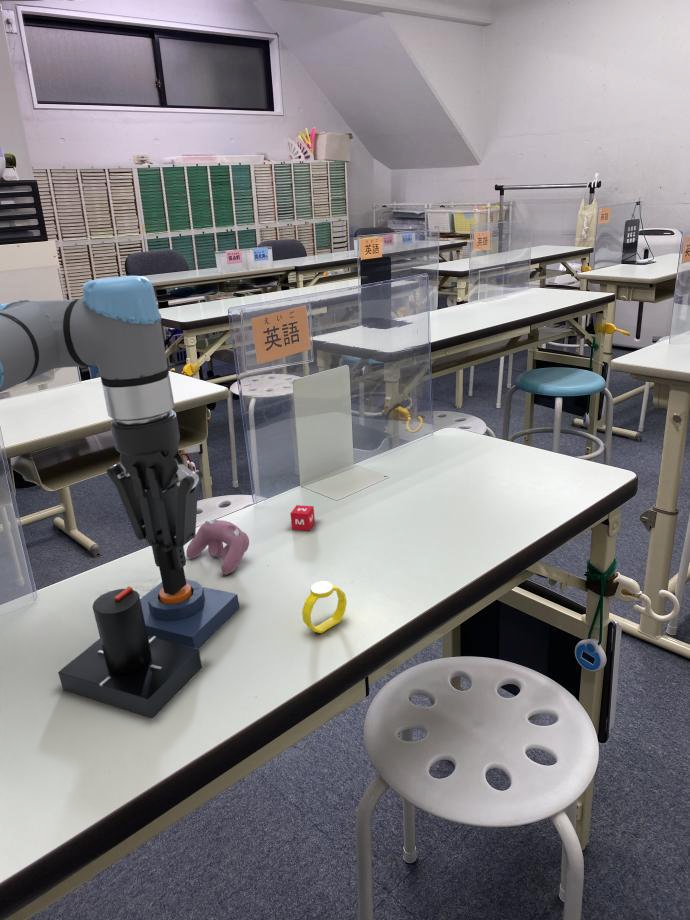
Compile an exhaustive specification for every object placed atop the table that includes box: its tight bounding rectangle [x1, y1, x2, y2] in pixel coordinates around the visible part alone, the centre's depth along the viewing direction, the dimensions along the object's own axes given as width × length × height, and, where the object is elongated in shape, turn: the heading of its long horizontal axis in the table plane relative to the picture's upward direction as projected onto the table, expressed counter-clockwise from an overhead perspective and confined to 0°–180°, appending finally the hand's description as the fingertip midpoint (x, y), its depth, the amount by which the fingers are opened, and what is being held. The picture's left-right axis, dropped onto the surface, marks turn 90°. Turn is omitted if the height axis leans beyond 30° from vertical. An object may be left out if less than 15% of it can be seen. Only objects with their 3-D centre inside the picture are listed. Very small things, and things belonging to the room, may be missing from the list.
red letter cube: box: [290, 504, 316, 532], centre depth 112 cm, size 3×3×3 cm
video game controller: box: [185, 519, 250, 576], centre depth 103 cm, size 10×5×7 cm, turn 49°
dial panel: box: [57, 636, 203, 719], centre depth 79 cm, size 13×9×3 cm
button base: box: [140, 579, 240, 649], centre depth 89 cm, size 12×10×4 cm
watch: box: [301, 580, 348, 634], centre depth 85 cm, size 6×3×6 cm, turn 129°
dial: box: [92, 586, 151, 674], centre depth 77 cm, size 5×5×8 cm
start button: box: [159, 583, 192, 604], centre depth 89 cm, size 4×4×2 cm
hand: (175, 588), depth 88 cm, fingers closed
